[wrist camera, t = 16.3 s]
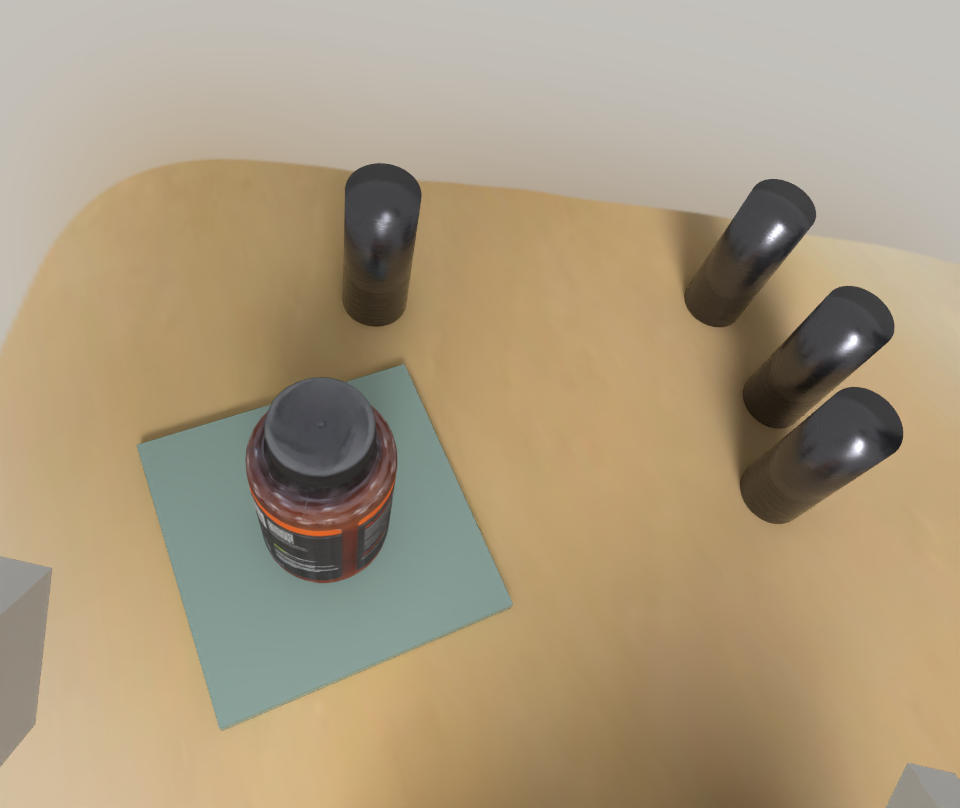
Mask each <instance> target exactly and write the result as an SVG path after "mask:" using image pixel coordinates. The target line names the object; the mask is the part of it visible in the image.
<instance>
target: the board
mask: <svg viewBox="0 0 960 808" xmlns="http://www.w3.org/2000/svg"><path fill="white" fill-rule="evenodd" d="M345 383H348V384H349V385H351V386H353V387H354V388H356V389H357V390H358V391H360V392H361V393H362V394H363V395H364V396H365V398H366V399H367V400H368V402H369V404H370V405H372V406H373V407H374V408H375V409H376V410H377V411H378V412H379V413H380V414H381V415H382V416H383V418H384V419H385V420H386V422H387V424H388V425H389V427H390V429H391V431H392V434H393V436H394V440H395V443H396V448H397V461H398V463H397V472H396V480H395V486H394V493H393V500H392V507H391V514H390V521H389V527H388V532H387V536H386V538H385V541H384V544H383V546H382V548H381V550H380V552H379V553H378V555H377V556H376V558H375V559H374V560H373V561H372V562H371V563H370V564H369V565H368V566H367V567H366V568H365V569H364V570H362V571H361V572H359V573H358V574H356V575H354V576H352V577H349V578H347V579H344V580H341V581H337V582H331V583H314V582H309V581H305V580H303V579H300V578H297V577H295V576H293V575H291V574H290V573H288V572H286V571H285V570H284V569H283V568H282V567H281V566H280V565H279V564H278V563H277V562H276V561H275V560H274V559H273V558H272V556H271V554H270V552H269V550H268V548H267V546H266V544H265V541H264V538H263V535H262V531H261V527H260V523H259V520H258V516H257V513H256V509H255V505H254V501H253V498H252V495H251V491H250V487H249V483H248V479H247V473H246V463H245V459H246V449H247V445H248V441H249V438H250V435H251V433H252V431H253V429H254V427H255V426H256V424H257V423H258V421H259V420H260V418H261V417H262V416H263V415H264V414H265V413H266V412H267V410H268V409H269V407H270V405H267V406H264V407H261V408H257V409H254V410H251V411H247V412H244V413H241V414H238V415H234V416H231V417H228V418H224V419H221V420H218V421H214V422H211V423H208V424H204V425H201V426H198V427H195V428H191V429H188V430H185V431H181V432H178V433H175V434H171V435H168V436H165V437H161V438H158V439H155V440H152V441H148V442H145V443H142V444H138V445H137V448H138V451H139V455H140V458H141V462H142V465H143V468H144V472H145V475H146V479H147V482H148V485H149V489H150V492H151V496H152V499H153V503H154V506H155V509H156V513H157V516H158V520H159V523H160V526H161V530H162V533H163V537H164V540H165V544H166V547H167V550H168V554H169V557H170V561H171V564H172V567H173V571H174V574H175V578H176V581H177V585H178V588H179V591H180V595H181V598H182V602H183V605H184V608H185V612H186V615H187V619H188V622H189V626H190V629H191V632H192V636H193V639H194V643H195V646H196V649H197V653H198V656H199V660H200V663H201V666H202V670H203V673H204V677H205V680H206V684H207V687H208V690H209V694H210V697H211V701H212V704H213V707H214V711H215V714H216V718H217V721H218V725H219V728H220V729H221V730H225V729H227V728H229V727H232V726H234V725H237V724H239V723H241V722H244V721H246V720H248V719H251V718H253V717H255V716H258V715H260V714H262V713H265V712H267V711H269V710H272V709H274V708H276V707H279V706H281V705H284V704H286V703H288V702H291V701H293V700H295V699H298V698H300V697H302V696H305V695H307V694H309V693H312V692H314V691H316V690H319V689H321V688H323V687H326V686H328V685H331V684H333V683H335V682H338V681H340V680H342V679H345V678H347V677H349V676H352V675H354V674H356V673H359V672H361V671H363V670H366V669H368V668H370V667H373V666H375V665H378V664H380V663H382V662H385V661H387V660H389V659H392V658H394V657H396V656H399V655H401V654H403V653H406V652H408V651H410V650H413V649H415V648H417V647H420V646H422V645H424V644H427V643H429V642H432V641H434V640H436V639H439V638H441V637H443V636H446V635H448V634H450V633H453V632H455V631H457V630H460V629H462V628H464V627H467V626H469V625H471V624H474V623H476V622H479V621H481V620H483V619H486V618H488V617H490V616H493V615H495V614H497V613H500V612H502V611H504V610H507V609H509V608H510V607H511V606H512V605H513V603H512V601H511V598H510V596H509V594H508V592H507V590H506V587H505V585H504V583H503V581H502V579H501V576H500V574H499V572H498V570H497V567H496V565H495V563H494V561H493V559H492V556H491V554H490V552H489V550H488V548H487V545H486V543H485V541H484V539H483V537H482V534H481V532H480V530H479V528H478V525H477V523H476V521H475V519H474V517H473V514H472V512H471V510H470V508H469V506H468V503H467V501H466V499H465V497H464V495H463V492H462V490H461V488H460V486H459V483H458V481H457V479H456V477H455V475H454V472H453V470H452V468H451V466H450V464H449V461H448V459H447V457H446V455H445V453H444V450H443V448H442V446H441V444H440V442H439V439H438V437H437V435H436V433H435V430H434V428H433V426H432V424H431V422H430V419H429V417H428V415H427V413H426V411H425V408H424V406H423V404H422V402H421V400H420V397H419V395H418V393H417V391H416V388H415V386H414V384H413V382H412V380H411V377H410V375H409V373H408V371H407V369H406V366H405V364H403V365H400V366H396V367H393V368H390V369H386V370H383V371H380V372H377V373H373V374H370V375H367V376H363V377H360V378H357V379H353V380H350V381H347V382H345Z"/></svg>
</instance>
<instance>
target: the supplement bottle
mask: <svg viewBox="0 0 960 808" xmlns="http://www.w3.org/2000/svg"><path fill="white" fill-rule="evenodd" d="M245 463H246V473H247V479H248V483H249V487H250V491H251V495H252V498H253V501H254V505H255V509H256V513H257V516H258V520H259V523H260V527H261V531H262V535H263V538H264V541H265V544H266V546H267V548H268V550H269V552H270V554H271V556H272V558H273V559H274V560H275V561H276V562H277V563H278V564H279V565H280V566H281V567H282V568H283V569H284V570H285V571H286V572H288V573H290V574H291V575H293V576H295V577H297V578H300V579H303V580H305V581H309V582H314V583H331V582H337V581H341V580H344V579H347V578H349V577H352V576H354V575H356V574H358V573H359V572H361V571H362V570H364V569H365V568H366V567H367V566H368V565H369V564H370V563H371V562H372V561H373V560H374V559H375V558H376V556H377V555H378V553H379V552H380V550H381V548H382V546H383V544H384V541H385V538H386V536H387V532H388V527H389V521H390V514H391V507H392V500H393V493H394V486H395V480H396V472H397V463H398V461H397V448H396V443H395V440H394V436H393V434H392V431H391V429H390V427H389V425H388V424H387V422H386V420H385V419H384V418H383V416H382V415H381V414H380V413H379V412H378V411H377V410H376V409H375V408H374V407H373V406H372V405H370V404H369V402H368V400H367V399H366V398H365V396H364V395H363V394H362V393H361V392H360V391H358V390H357V389H356V388H354V387H353V386H351V385H349V384H348V383H345V382H343V381H340V380H337V379H333V378H324V377H320V378H309V379H305V380H302V381H299V382H297V383H295V384H293V385H291V386H289V387H287V388H286V389H284V390H283V391H282V392H281V393H280V394H279V395H278V396H277V397H276V398H275V399H274V400H273V402H272V404H271V405H270V407H269V409H268V410H267V412H266V413H265V414H264V415H263V416H262V417H261V418H260V420H259V421H258V423H257V424H256V426H255V427H254V429H253V431H252V433H251V435H250V438H249V441H248V445H247V449H246V459H245Z"/></svg>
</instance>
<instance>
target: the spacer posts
mask: <svg viewBox="0 0 960 808" xmlns="http://www.w3.org/2000/svg"><path fill="white" fill-rule="evenodd" d="M420 203H421V189H420V186H419V184H418V182H417V181H416V179H415V178H414V177H413V176H412V175H411V174H410V173H408V172H407V171H405V170H404V169H402V168H400V167H397V166H394V165H390V164H380V163H379V164H371V165H367V166H364V167H361V168H359V169H358V170H356V171H355V172H354V173H353V174H352V175H351V176H350V177H349V179H348V180H347V183H346V187H345V226H344V274H343V303H344V307H345V309H346V311H347V313H348V314H349V315H350V316H351V317H352V318H353V319H354V320H356V321H357V322H359V323H361V324H364V325H368V326H384V325H388V324H391V323H393V322H394V321H396V320H397V319H398V318H400V316H401V315H402V314H403V312H404V310H405V307H406V301H407V294H408V287H409V280H410V273H411V266H412V259H413V252H414V245H415V238H416V231H417V224H418V217H419V210H420ZM815 218H816V210H815V207H814V204H813V202H812V201H811V199H810V198H809V196H807V194H806V193H805V192H804V191H803V190H801V189H800V188H798V187H797V186H795V185H794V184H792V183H789V182H786V181H783V180H778V179H769V180H764V181H761V182H759V183H758V184H757V185H756V186H755V187H754V188H753V190H752V191H751V193H750V194H749V196H748V197H747V199H746V200H745V202H744V203H743V205H742V206H741V208H740V209H739V211H738V212H737V214H736V215H735V217H734V218H733V220H732V221H731V223H730V224H729V226H728V227H727V229H726V230H725V232H724V233H723V235H722V236H721V238H720V239H719V241H718V242H717V244H716V245H715V247H714V248H713V250H712V251H711V253H710V254H709V256H708V257H707V259H706V260H705V262H704V263H703V265H702V266H701V268H700V269H699V271H698V272H697V274H696V275H695V277H694V278H693V280H692V281H691V283H690V284H689V286H688V288H687V289H686V292H685V302H686V305H687V308H688V309H689V311H690V312H691V314H692V315H693V316H694V317H695V318H696V319H698V320H699V321H701V322H702V323H704V324H706V325H709V326H713V327H725V326H728V325H731V324H732V323H734V322H735V321H736V320H737V318H738V317H739V316H740V315H741V313H742V312H743V311H744V310H745V308H746V307H747V306H748V305H749V303H750V302H751V301H752V300H753V298H754V297H755V296H756V295H757V293H758V292H759V291H760V290H761V288H762V287H763V286H764V285H765V283H766V282H767V281H768V280H769V278H770V277H771V276H772V275H773V274H774V272H775V271H776V270H777V269H778V267H779V266H780V265H781V264H782V262H783V261H784V260H785V259H786V257H787V256H788V255H789V254H790V252H791V251H792V250H793V249H794V247H795V246H796V245H797V244H798V242H799V241H800V240H801V239H802V237H803V236H804V235H805V234H806V232H807V231H808V230H809V229H810V227H811V226H812V225H813V223H814V221H815ZM893 333H894V321H893V317H892V315H891V313H890V311H889V309H888V308H887V306H886V305H885V304H884V303H883V302H882V301H881V300H880V299H879V298H878V297H877V296H875V295H874V294H872V293H871V292H869V291H867V290H865V289H862V288H859V287H854V286H843V287H839V288H836V289H835V290H833V291H832V292H831V293H830V294H829V295H828V296H827V297H826V298H825V299H824V300H823V301H822V302H821V303H820V304H819V305H818V306H817V307H816V309H815V310H814V311H813V312H812V313H811V314H810V315H809V316H808V317H807V318H806V319H805V320H804V321H803V322H802V323H801V325H800V326H799V327H798V328H797V329H796V330H795V331H794V332H793V333H792V334H791V335H790V336H789V337H788V338H787V339H786V340H785V342H784V343H783V344H782V345H781V346H780V347H779V348H778V349H777V350H776V351H775V352H774V353H773V354H772V355H771V356H770V358H769V359H768V360H767V361H766V362H765V363H764V364H763V365H762V366H761V367H760V368H759V369H758V370H757V371H756V372H755V374H754V375H753V376H752V377H751V378H750V379H749V380H748V381H747V382H746V384H745V386H744V390H743V399H744V403H745V405H746V407H747V409H748V410H749V412H750V413H751V414H752V416H753V417H755V418H756V419H757V420H758V421H759V422H761V423H763V424H765V425H767V426H770V427H774V428H785V427H789V426H791V425H792V424H794V423H795V422H796V421H797V420H799V419H800V418H801V417H802V416H803V415H804V414H805V413H807V412H808V411H809V410H810V409H811V408H812V407H814V406H815V405H816V404H817V403H818V402H819V401H821V400H822V399H823V398H824V397H825V396H826V395H827V394H829V393H830V392H831V391H832V390H833V389H834V388H836V387H837V386H838V385H839V384H840V383H841V382H842V381H844V380H845V379H846V378H847V377H848V376H849V375H851V374H852V373H853V372H854V371H855V370H856V369H857V368H859V367H860V366H861V365H862V364H863V363H864V362H866V361H867V360H868V359H869V358H870V357H871V356H872V355H874V354H875V353H876V352H877V351H878V350H879V349H881V348H882V347H883V346H884V345H885V344H886V343H887V342H889V340H890V339H891V338H892V336H893ZM902 440H903V427H902V423H901V420H900V418H899V416H898V414H897V412H896V411H895V409H894V408H893V407H892V406H891V405H890V403H889V402H888V401H886V400H885V399H884V398H883V397H881V396H880V395H878V394H877V393H875V392H873V391H871V390H868V389H865V388H860V387H849V388H845V389H842V390H840V391H839V392H837V393H836V394H835V395H834V396H832V397H831V398H830V399H829V400H828V401H827V402H825V403H824V404H823V405H822V406H821V407H819V408H818V409H817V410H816V411H815V412H814V413H812V414H811V415H810V416H809V417H808V418H807V419H805V420H804V421H803V422H802V423H801V424H800V425H798V426H797V427H796V428H795V429H794V430H793V431H791V432H790V433H789V434H788V435H787V436H786V437H784V438H783V439H782V440H781V441H780V442H778V443H777V444H776V445H775V446H774V447H773V448H771V449H770V450H769V451H768V452H767V453H766V454H764V455H763V456H762V457H761V458H760V459H759V460H757V461H756V462H755V463H754V464H753V465H752V466H750V467H749V468H748V469H747V470H746V471H745V473H744V474H743V476H742V479H741V493H742V497H743V499H744V501H745V503H746V505H747V506H748V508H749V509H750V510H751V511H752V512H753V513H754V514H755V515H756V516H757V517H759V518H761V519H762V520H764V521H767V522H769V523H774V524H783V523H787V522H790V521H792V520H793V519H795V518H796V517H798V516H799V515H801V514H802V513H804V512H805V511H807V510H808V509H810V508H812V507H813V506H815V505H816V504H818V503H819V502H821V501H822V500H824V499H825V498H827V497H828V496H830V495H831V494H833V493H834V492H836V491H837V490H839V489H840V488H842V487H843V486H845V485H846V484H848V483H849V482H851V481H853V480H854V479H856V478H857V477H859V476H860V475H862V474H863V473H865V472H866V471H868V470H869V469H871V468H872V467H874V466H875V465H877V464H878V463H880V462H881V461H883V460H884V459H886V458H887V457H889V456H890V455H892V454H893V453H895V452H896V451H897V450H898V449H899V447H900V445H901V443H902Z"/></svg>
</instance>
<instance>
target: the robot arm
mask: <svg viewBox="0 0 960 808" xmlns="http://www.w3.org/2000/svg"><path fill="white" fill-rule="evenodd" d="M51 575H52V568H49V567H45V566H41V565H36V564H32V563H27V562H23V561H19V560H14V559H10V558H5V557H1V556H0V767H1V765H2V764H3V763H4V762H5V760H6V759H7V758H8V757H9V756H10V754H11V753H12V752H13V751H14V749H15V748H16V747H17V746H18V745H19V743H20V742H21V741H22V740H23V739H24V737H25V736H26V735H27V734H28V732H29V731H30V730H31V729H32V728H33V726H34V725H35V721H36V712H37V703H38V694H39V685H40V675H41V666H42V657H43V648H44V639H45V630H46V621H47V611H48V602H49V593H50V584H51ZM886 808H960V780H959V779H958V777H957V776H956V775H955V773H951V772H946V771H942V770H937V769H933V768H929V767H924V766H920V765H915V764H911V763H907V765H906V767H905V769H904V771H903V773H902V775H901V777H900V779H899V781H898V784H897V786H896V788H895V790H894V792H893V794H892V796H891V798H890V800H889V802H888V804H887V806H886Z"/></svg>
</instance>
